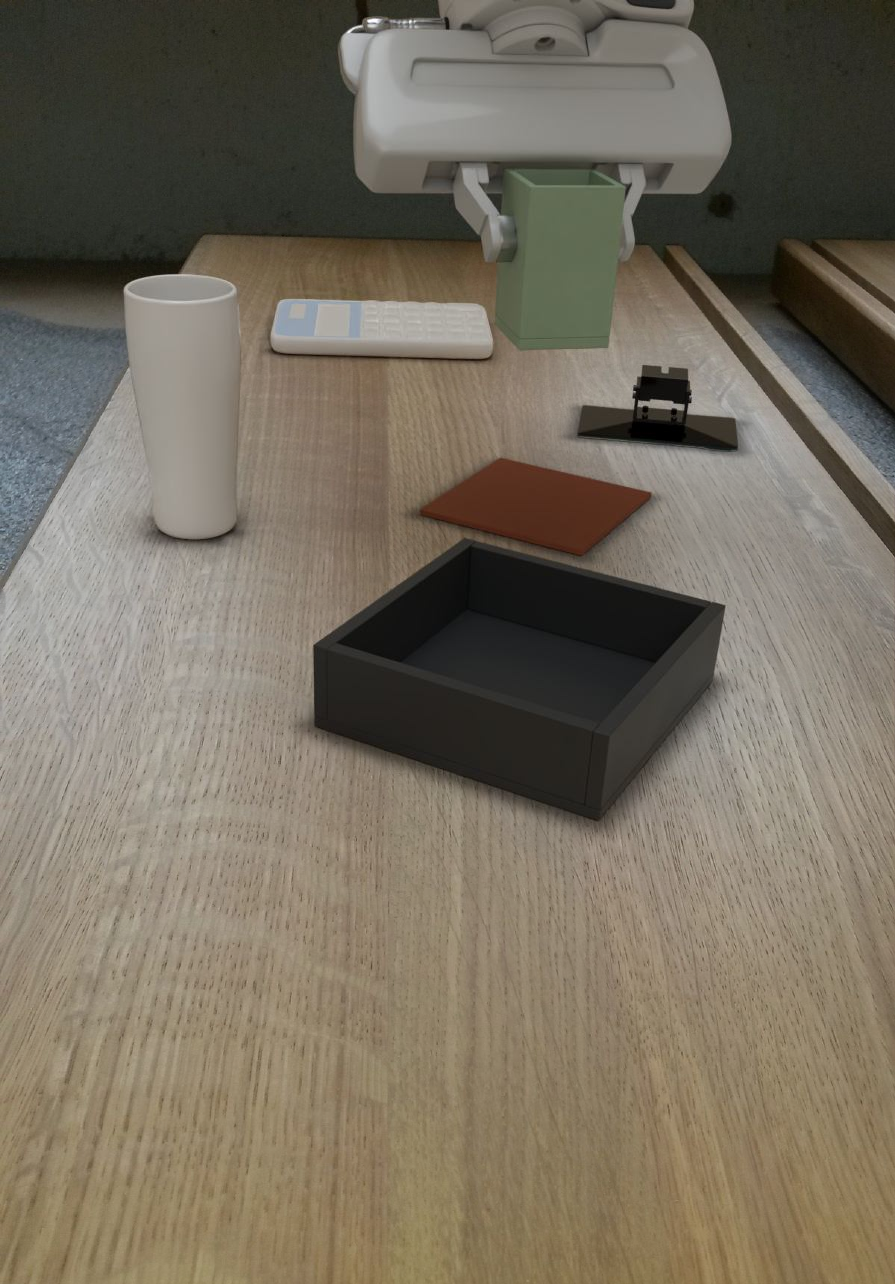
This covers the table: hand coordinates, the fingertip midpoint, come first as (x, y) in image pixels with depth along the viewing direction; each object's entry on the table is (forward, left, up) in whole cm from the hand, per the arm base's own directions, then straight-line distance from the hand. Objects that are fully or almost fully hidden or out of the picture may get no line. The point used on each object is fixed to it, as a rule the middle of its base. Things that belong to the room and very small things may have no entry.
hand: (561, 256), depth 71 cm
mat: (+6, -13, -19) cm, 24 cm away
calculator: (+36, -42, -20) cm, 59 cm away
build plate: (+5, -33, -20) cm, 39 cm away
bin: (-5, +12, -19) cm, 23 cm away
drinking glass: (+23, +3, -20) cm, 30 cm away
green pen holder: (0, 0, -4) cm, 4 cm away
